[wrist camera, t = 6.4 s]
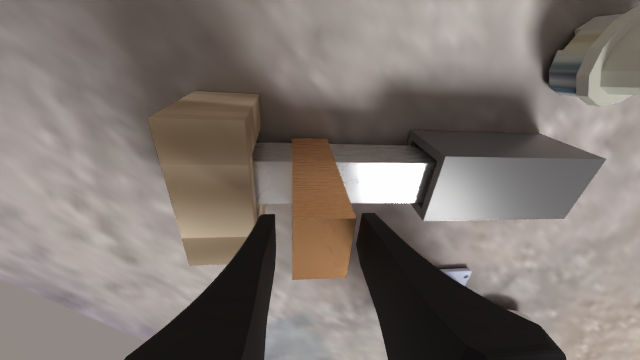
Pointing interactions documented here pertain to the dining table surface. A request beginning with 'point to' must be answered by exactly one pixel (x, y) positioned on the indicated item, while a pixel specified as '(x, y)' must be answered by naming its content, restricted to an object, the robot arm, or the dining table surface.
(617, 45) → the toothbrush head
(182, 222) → the socket block
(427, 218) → the sleeve
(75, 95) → the dining table surface
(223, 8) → the dining table surface
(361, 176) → the brown and grey block
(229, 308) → the robot arm
